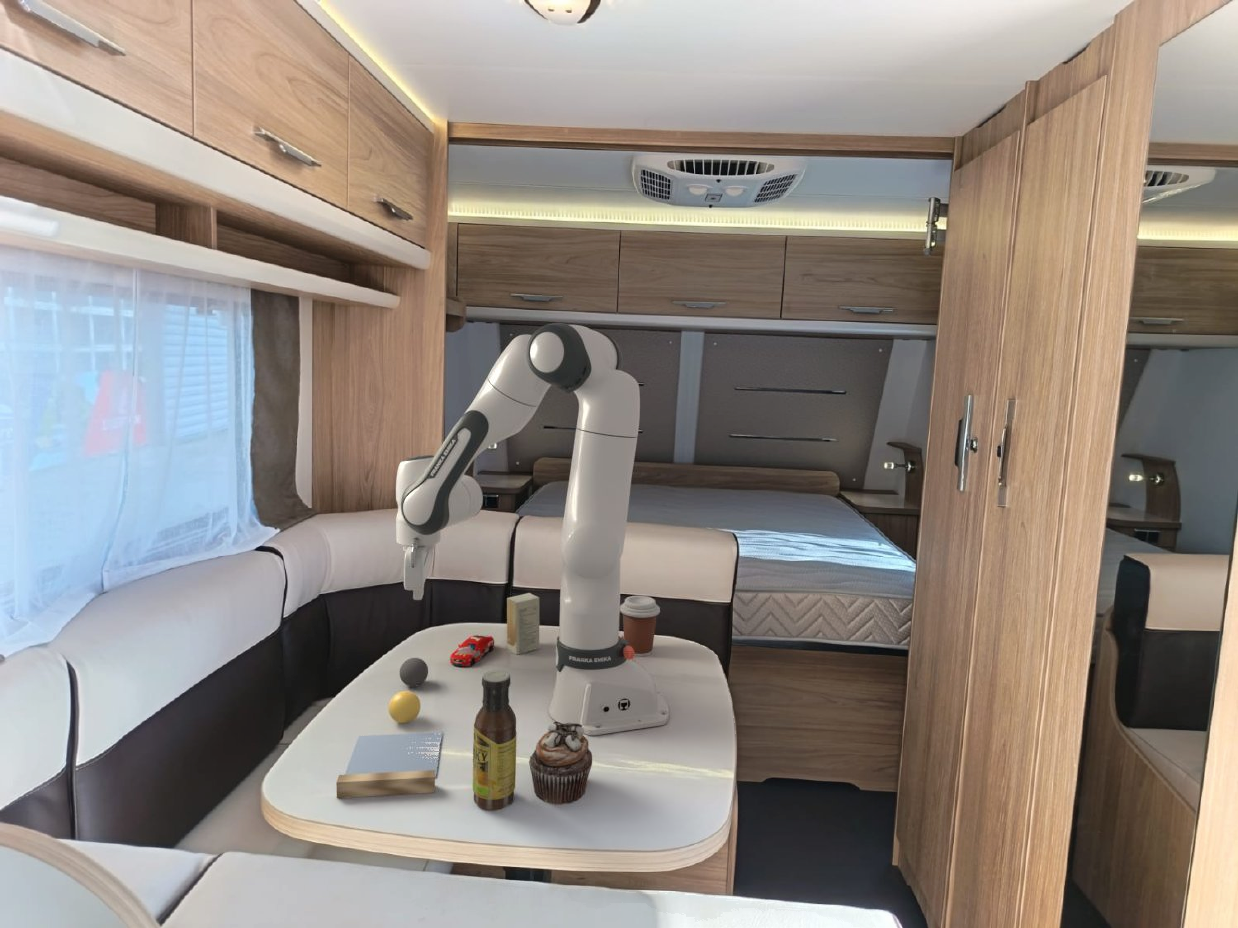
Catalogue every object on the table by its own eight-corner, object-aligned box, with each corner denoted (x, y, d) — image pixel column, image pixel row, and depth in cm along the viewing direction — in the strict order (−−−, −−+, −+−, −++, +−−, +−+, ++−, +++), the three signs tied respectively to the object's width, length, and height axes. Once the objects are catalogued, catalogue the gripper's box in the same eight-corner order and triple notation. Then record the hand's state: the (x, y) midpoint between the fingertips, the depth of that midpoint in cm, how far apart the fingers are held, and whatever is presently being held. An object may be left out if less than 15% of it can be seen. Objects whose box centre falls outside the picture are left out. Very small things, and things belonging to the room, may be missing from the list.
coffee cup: (615, 644, 174) (616, 594, 172) (653, 642, 176) (655, 593, 174) (622, 659, 165) (624, 607, 164) (662, 658, 167) (664, 606, 165)
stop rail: (434, 784, 115) (434, 769, 115) (433, 792, 113) (433, 777, 113) (339, 790, 113) (339, 774, 113) (336, 797, 111) (336, 782, 111)
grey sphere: (429, 678, 152) (429, 652, 152) (426, 690, 147) (426, 663, 146) (401, 679, 151) (401, 653, 151) (397, 691, 146) (397, 664, 145)
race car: (467, 671, 158) (467, 653, 157) (445, 666, 159) (445, 648, 159) (498, 648, 170) (498, 632, 169) (477, 644, 172) (477, 628, 171)
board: (442, 733, 131) (442, 732, 131) (435, 777, 117) (435, 776, 117) (359, 737, 128) (358, 735, 128) (342, 782, 115) (342, 781, 115)
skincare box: (529, 643, 173) (530, 591, 171) (540, 649, 170) (541, 596, 168) (505, 649, 169) (506, 596, 167) (515, 655, 166) (516, 602, 164)
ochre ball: (422, 713, 138) (421, 685, 137) (418, 728, 132) (418, 698, 131) (391, 714, 137) (390, 686, 136) (386, 729, 131) (386, 699, 131)
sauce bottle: (468, 793, 113) (469, 668, 110) (508, 785, 116) (510, 662, 113) (478, 817, 108) (479, 685, 105) (520, 808, 110) (522, 679, 107)
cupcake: (529, 772, 120) (531, 713, 118) (590, 772, 120) (592, 713, 119) (526, 808, 110) (527, 744, 109) (592, 807, 111) (594, 744, 109)
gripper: (429, 545, 145) (429, 614, 147) (438, 522, 165) (437, 583, 167) (395, 545, 144) (396, 615, 146) (408, 522, 164) (408, 583, 166)
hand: (418, 597), depth 156 cm, fingers closed
